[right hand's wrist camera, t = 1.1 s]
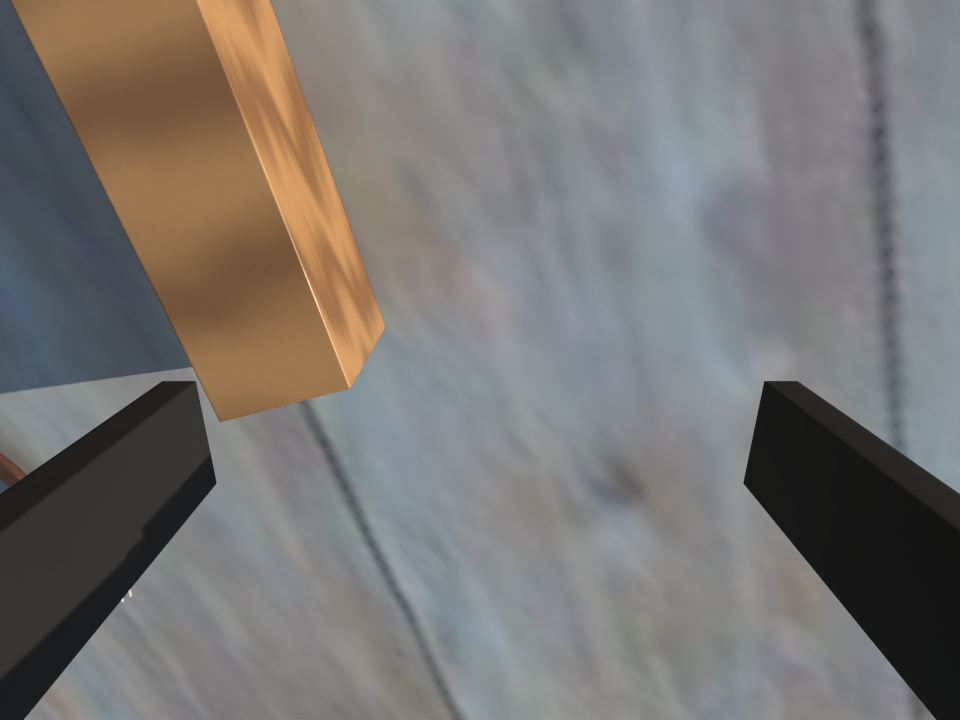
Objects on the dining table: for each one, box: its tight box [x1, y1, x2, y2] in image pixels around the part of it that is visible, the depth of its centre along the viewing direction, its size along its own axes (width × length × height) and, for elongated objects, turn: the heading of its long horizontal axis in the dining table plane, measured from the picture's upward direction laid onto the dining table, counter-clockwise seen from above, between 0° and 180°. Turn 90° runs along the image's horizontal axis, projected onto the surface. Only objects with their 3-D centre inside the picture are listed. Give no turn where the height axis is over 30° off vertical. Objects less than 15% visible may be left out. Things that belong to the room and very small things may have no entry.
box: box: [10, 0, 385, 422], centre depth 22 cm, size 21×6×8 cm, turn 15°
